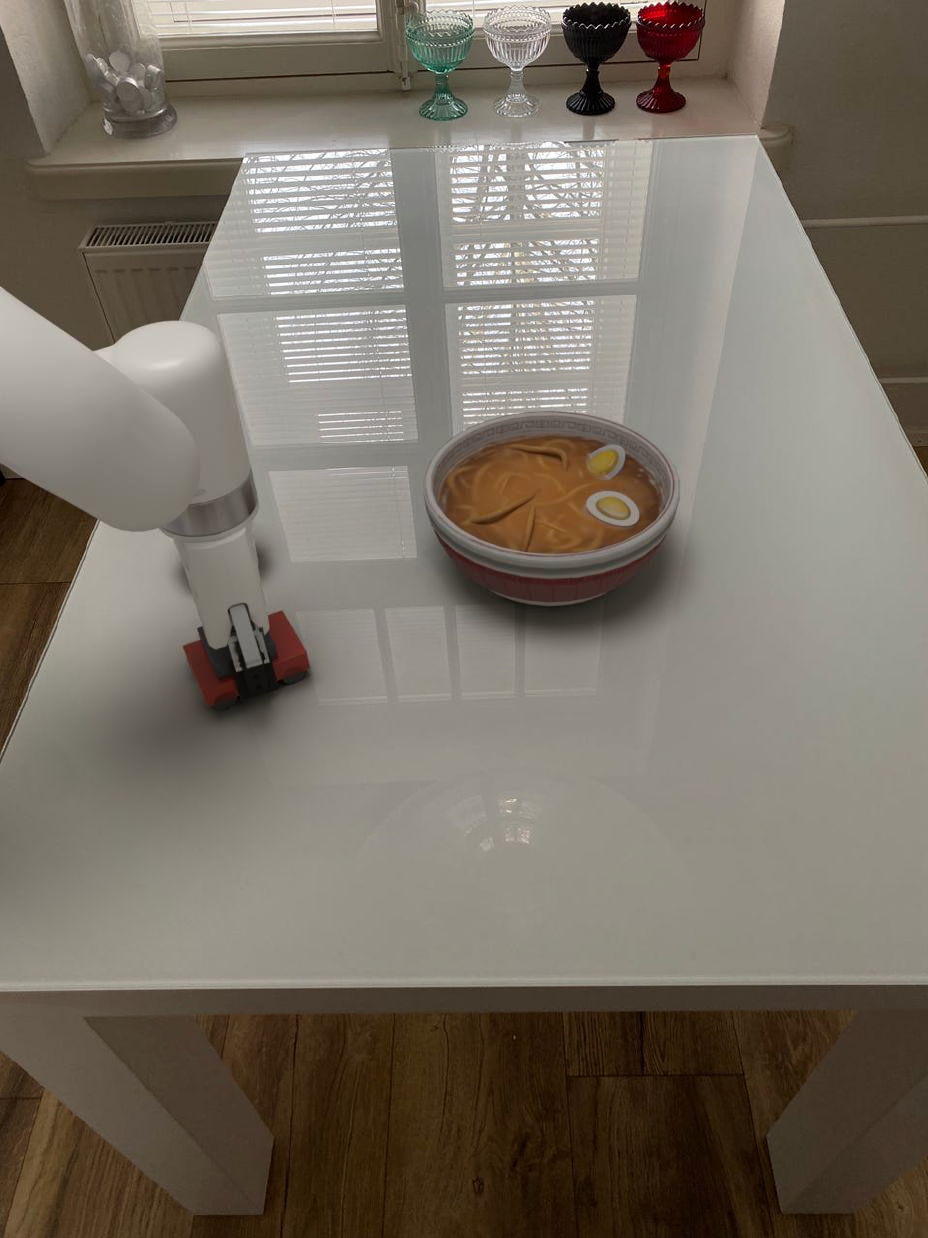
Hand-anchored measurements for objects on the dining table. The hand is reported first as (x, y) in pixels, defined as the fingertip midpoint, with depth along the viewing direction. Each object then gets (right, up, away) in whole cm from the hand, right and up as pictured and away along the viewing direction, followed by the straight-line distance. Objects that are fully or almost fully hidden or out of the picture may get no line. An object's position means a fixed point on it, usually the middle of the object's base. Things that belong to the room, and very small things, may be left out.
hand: (249, 664), depth 82 cm
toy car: (+1, -1, -3) cm, 3 cm away
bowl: (+26, +9, +10) cm, 30 cm away
